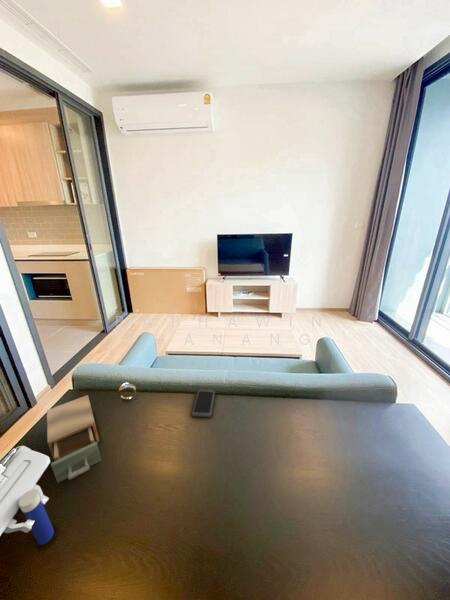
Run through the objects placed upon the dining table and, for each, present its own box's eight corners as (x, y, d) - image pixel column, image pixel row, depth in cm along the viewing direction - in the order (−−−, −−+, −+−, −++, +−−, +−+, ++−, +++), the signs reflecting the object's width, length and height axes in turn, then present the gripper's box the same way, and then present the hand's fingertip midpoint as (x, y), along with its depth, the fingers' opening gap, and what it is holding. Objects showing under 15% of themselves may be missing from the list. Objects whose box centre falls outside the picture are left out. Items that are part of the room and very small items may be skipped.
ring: (138, 396, 102) (135, 380, 99) (136, 401, 99) (133, 385, 96) (120, 398, 101) (117, 382, 98) (118, 403, 98) (115, 387, 95)
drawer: (104, 471, 72) (99, 455, 69) (58, 496, 66) (51, 479, 63) (94, 428, 86) (90, 413, 84) (55, 445, 80) (50, 429, 78)
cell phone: (191, 416, 91) (190, 415, 91) (198, 390, 104) (198, 389, 104) (210, 417, 90) (210, 416, 90) (215, 391, 103) (215, 390, 103)
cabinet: (99, 442, 82) (94, 422, 79) (54, 463, 75) (47, 443, 72) (92, 412, 94) (87, 394, 91) (53, 428, 87) (46, 410, 84)
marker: (37, 549, 55) (17, 510, 50) (37, 534, 58) (19, 495, 53) (54, 538, 57) (37, 499, 52) (54, 524, 60) (38, 485, 55)
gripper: (11, 449, 62) (60, 474, 65) (-83, 557, 43) (-7, 585, 46) (23, 436, 60) (72, 462, 64) (-69, 541, 41) (9, 571, 45)
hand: (38, 515), depth 55 cm, fingers closed on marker, 3 cm apart
